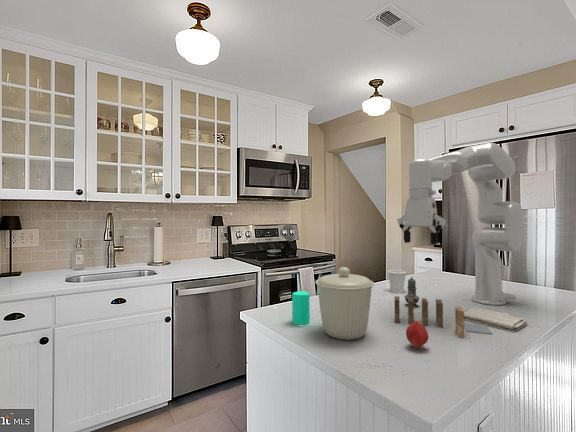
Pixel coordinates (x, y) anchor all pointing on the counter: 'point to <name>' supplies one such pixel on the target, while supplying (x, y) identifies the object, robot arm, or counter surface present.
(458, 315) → the domino
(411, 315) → the domino
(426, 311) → the domino
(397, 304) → the domino
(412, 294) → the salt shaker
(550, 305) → the counter surface
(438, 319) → the domino
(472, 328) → the pad
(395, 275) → the dixie cup
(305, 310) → the candle
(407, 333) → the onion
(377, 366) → the counter surface
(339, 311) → the canister
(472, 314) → the washcloth
